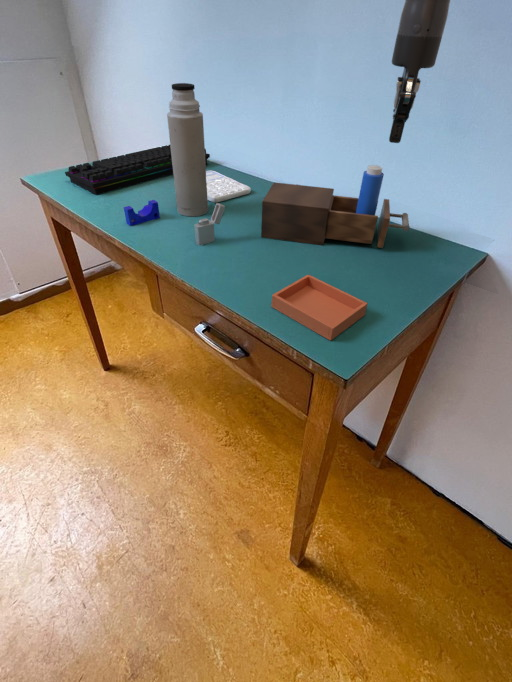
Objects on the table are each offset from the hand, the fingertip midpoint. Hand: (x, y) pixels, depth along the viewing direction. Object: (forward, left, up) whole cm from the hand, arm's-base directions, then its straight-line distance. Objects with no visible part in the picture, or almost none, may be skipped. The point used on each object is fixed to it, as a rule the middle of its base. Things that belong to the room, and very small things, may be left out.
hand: (394, 141), depth 80 cm
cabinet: (+18, 0, -21) cm, 28 cm away
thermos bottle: (+46, -4, -21) cm, 51 cm away
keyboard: (+71, -27, -21) cm, 79 cm away
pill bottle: (+3, 0, -19) cm, 19 cm away
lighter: (+36, +11, -21) cm, 43 cm away
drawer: (+2, 0, -20) cm, 20 cm away
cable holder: (+56, +5, -21) cm, 60 cm away
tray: (+9, +32, -21) cm, 40 cm away
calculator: (+46, -21, -21) cm, 55 cm away
